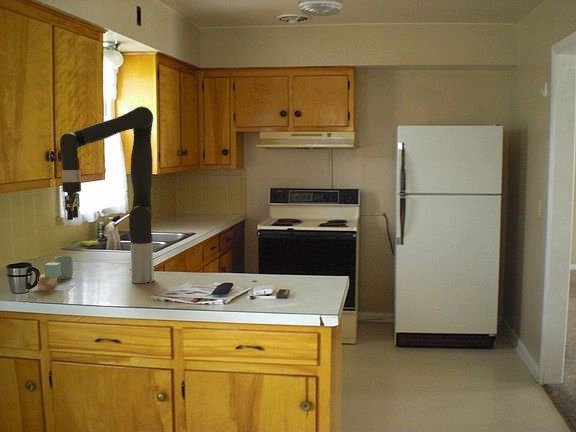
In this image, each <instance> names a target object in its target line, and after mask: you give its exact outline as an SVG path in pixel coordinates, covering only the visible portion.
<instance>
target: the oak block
mask: <svg viewBox="0 0 576 432" xmlns="http://www.w3.org/2000/svg"><path fill="white" fill-rule="evenodd" d="M39 276H40V277H39ZM39 276H38V277H39V281H38V280H37V285H38V290H44V289H54V288H56V287H57V285H58V279H57V277H45V273H44V274H41V275H39Z"/></svg>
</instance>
